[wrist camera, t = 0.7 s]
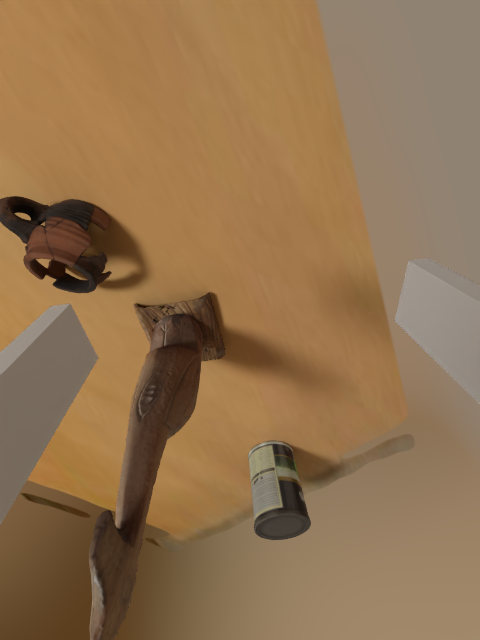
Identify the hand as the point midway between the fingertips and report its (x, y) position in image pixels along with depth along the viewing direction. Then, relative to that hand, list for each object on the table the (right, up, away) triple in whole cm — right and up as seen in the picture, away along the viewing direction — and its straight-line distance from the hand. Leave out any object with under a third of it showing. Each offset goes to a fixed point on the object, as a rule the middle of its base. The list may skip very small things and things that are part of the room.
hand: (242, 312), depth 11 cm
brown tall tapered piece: (-9, -1, +31) cm, 32 cm away
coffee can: (+7, -31, +50) cm, 59 cm away
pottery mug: (-21, +10, +23) cm, 32 cm away
